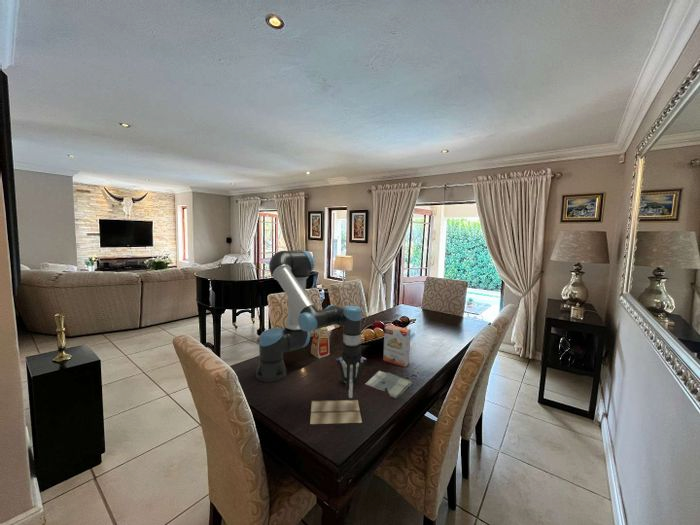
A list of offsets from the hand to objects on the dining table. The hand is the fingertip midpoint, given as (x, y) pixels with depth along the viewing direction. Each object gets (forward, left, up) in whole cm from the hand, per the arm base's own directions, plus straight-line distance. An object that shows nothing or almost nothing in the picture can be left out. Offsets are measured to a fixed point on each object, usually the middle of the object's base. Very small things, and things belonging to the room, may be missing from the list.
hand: (350, 396), depth 124 cm
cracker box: (+30, +42, -5) cm, 52 cm away
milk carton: (-14, +55, -5) cm, 57 cm away
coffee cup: (+1, +19, -5) cm, 20 cm away
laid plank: (-7, -9, -5) cm, 12 cm away
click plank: (-7, -1, -5) cm, 8 cm away
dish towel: (+20, +17, -6) cm, 27 cm away
